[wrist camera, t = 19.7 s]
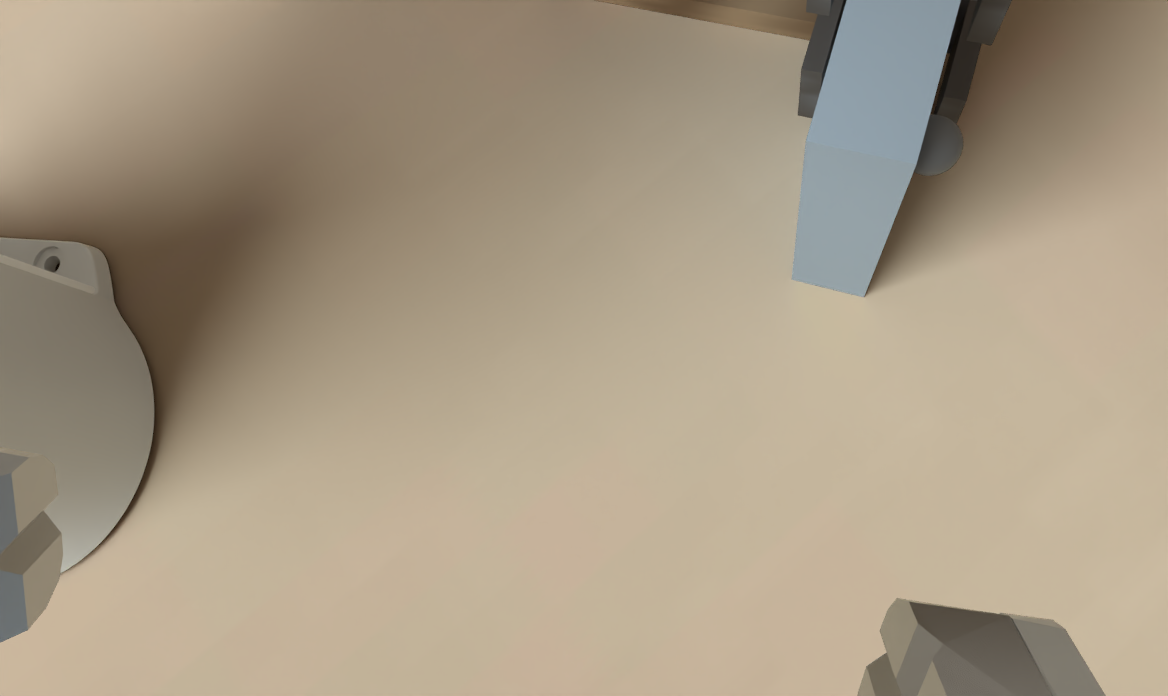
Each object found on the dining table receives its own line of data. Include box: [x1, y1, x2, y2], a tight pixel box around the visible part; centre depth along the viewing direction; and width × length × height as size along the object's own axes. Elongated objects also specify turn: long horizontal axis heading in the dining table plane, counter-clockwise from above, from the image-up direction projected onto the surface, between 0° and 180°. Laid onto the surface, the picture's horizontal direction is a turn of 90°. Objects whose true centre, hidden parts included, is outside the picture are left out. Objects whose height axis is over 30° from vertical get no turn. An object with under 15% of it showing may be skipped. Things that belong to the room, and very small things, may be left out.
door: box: [792, 0, 963, 297], centre depth 33 cm, size 10×4×14 cm, turn 162°
